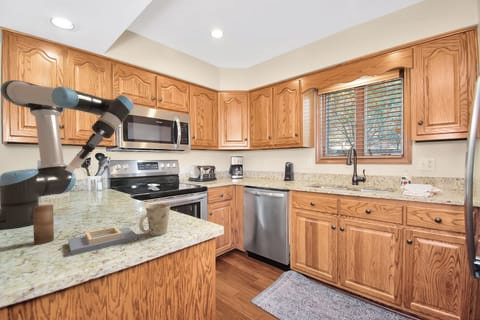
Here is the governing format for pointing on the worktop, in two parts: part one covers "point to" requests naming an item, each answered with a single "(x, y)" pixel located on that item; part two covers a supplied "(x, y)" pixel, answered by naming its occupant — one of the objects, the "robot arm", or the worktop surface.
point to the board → (101, 239)
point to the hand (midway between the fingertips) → (71, 169)
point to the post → (43, 224)
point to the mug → (156, 219)
